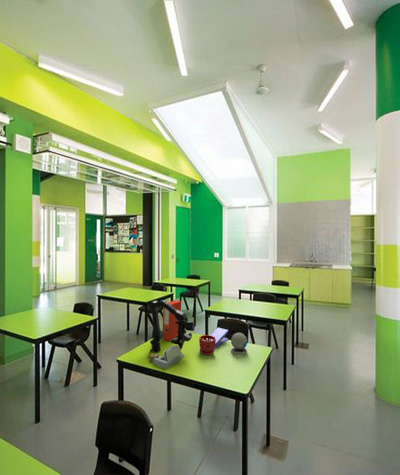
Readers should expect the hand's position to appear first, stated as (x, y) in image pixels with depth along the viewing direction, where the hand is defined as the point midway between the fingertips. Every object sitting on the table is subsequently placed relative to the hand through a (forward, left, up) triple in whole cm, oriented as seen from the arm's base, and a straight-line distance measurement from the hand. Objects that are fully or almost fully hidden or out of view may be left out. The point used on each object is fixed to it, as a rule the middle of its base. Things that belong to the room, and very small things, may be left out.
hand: (180, 349), depth 212 cm
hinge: (0, -9, -4) cm, 10 cm away
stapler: (+11, +37, -5) cm, 39 cm away
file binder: (-29, +25, -4) cm, 38 cm away
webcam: (+35, +32, -4) cm, 48 cm away
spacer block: (-10, -20, -4) cm, 23 cm away
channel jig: (0, -16, -4) cm, 16 cm away
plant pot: (+15, +15, -4) cm, 22 cm away
